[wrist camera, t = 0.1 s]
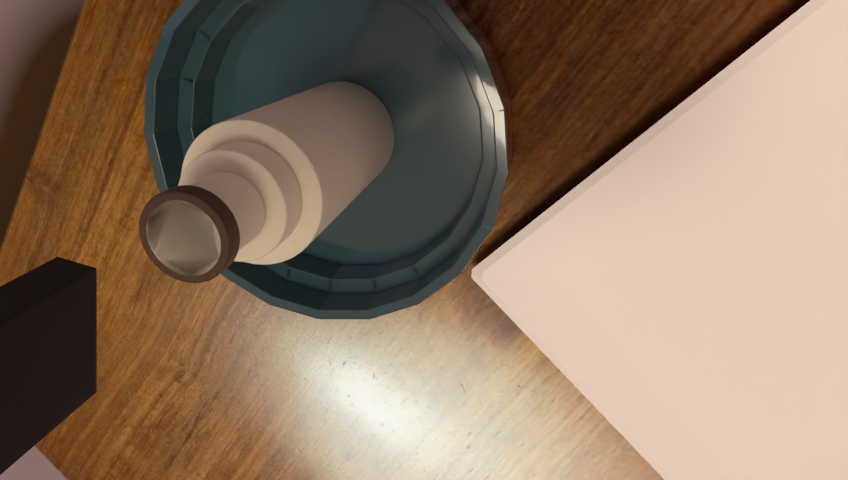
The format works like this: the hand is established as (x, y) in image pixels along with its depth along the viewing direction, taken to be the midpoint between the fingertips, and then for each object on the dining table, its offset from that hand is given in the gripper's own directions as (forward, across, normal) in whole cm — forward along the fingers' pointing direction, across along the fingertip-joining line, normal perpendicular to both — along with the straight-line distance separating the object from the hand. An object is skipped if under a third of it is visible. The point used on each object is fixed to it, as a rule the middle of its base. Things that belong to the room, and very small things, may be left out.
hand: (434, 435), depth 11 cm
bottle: (+25, -9, -2) cm, 27 cm away
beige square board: (+26, +18, -4) cm, 31 cm away
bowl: (+26, -9, -2) cm, 27 cm away
